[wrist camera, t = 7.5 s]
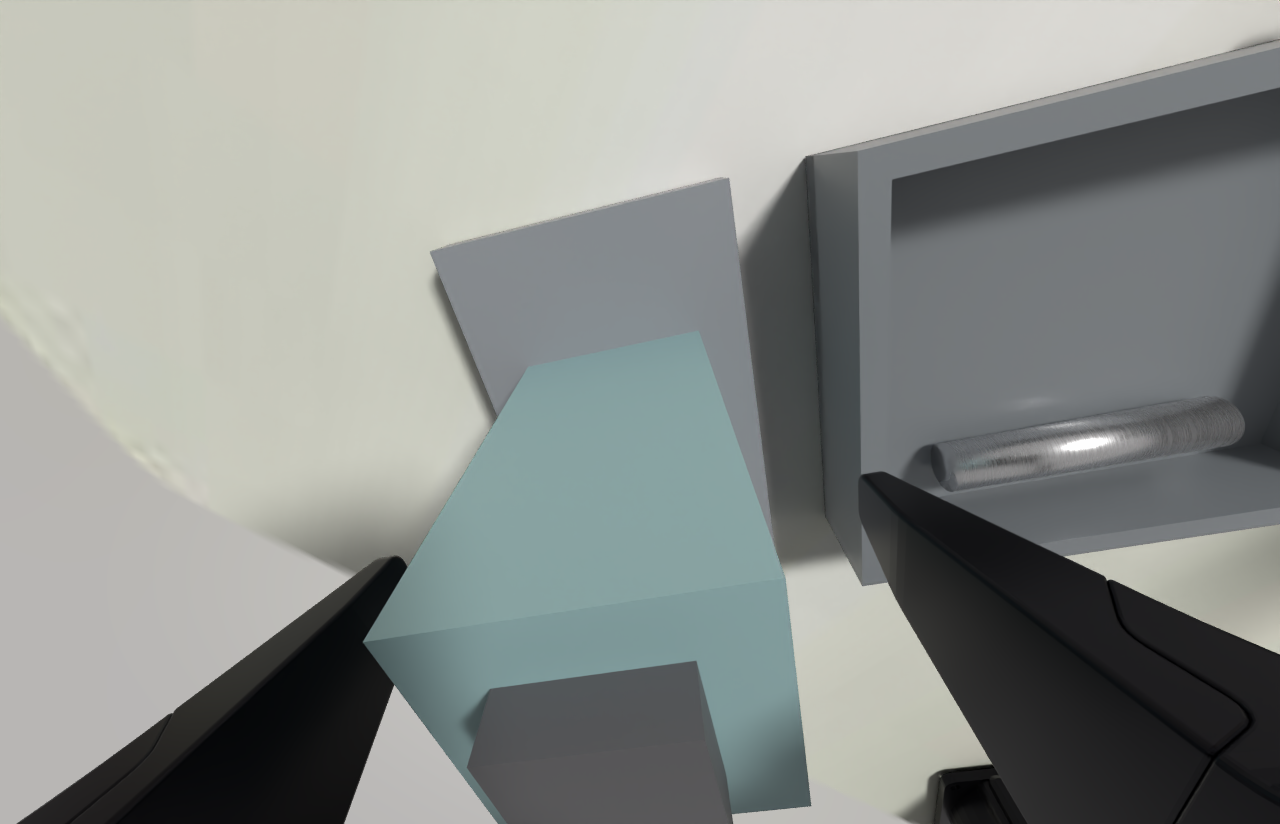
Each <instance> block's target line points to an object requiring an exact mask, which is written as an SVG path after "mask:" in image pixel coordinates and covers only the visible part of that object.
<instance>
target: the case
mask: <svg viewBox="0 0 1280 824" xmlns="http://www.w3.org/2000/svg"><path fill="white" fill-rule="evenodd" d="M806 175H807V193H808V211H809V229H810V247H811V265H812V283H813V301H814V319H815V337H816V355H817V373H818V392H819V410H820V428H821V446H822V464H823V482H824V500H825V517H826V518H827V520H828V522H829V524H830V526H831V528H832V530H833V532H834V534H835V535H836V537H837V539H838V541H839V543H840V545H841V547H842V549H843V551H844V552H845V554H846V556H847V558H848V560H849V562H850V564H851V566H852V568H853V569H854V571H855V573H856V575H857V577H858V579H859V581H860V583H861V585H862V586H867V585H873V584H880V583H887V582H888V581H887V579H886V577H885V575H884V572H883V570H882V568H881V566H880V563H879V561H878V559H877V557H876V554H875V552H874V550H873V548H872V546H871V543H870V541H869V539H868V537H867V534H866V532H865V530H864V528H863V525H862V523H861V520H860V517H859V511H858V479H859V477H860V476H861V475H862V474H867V473H872V472H878V471H884V472H887V473H889V474H891V475H893V476H895V477H897V478H899V479H901V480H904V481H906V482H908V483H910V484H912V485H914V486H916V487H918V488H920V489H922V490H925V491H927V492H929V493H931V494H933V495H935V496H937V497H939V498H941V499H943V500H946V501H948V502H950V503H952V504H954V505H956V506H958V507H960V508H962V509H964V510H967V511H969V512H971V513H973V514H975V515H977V516H979V517H981V518H983V519H985V520H988V521H990V522H992V523H994V524H996V525H998V526H1000V527H1002V528H1004V529H1006V530H1009V531H1011V532H1013V533H1015V534H1017V535H1019V536H1021V537H1023V538H1025V539H1027V540H1030V541H1032V542H1034V543H1036V544H1038V545H1040V546H1042V547H1044V548H1046V549H1048V550H1051V551H1053V552H1055V553H1057V554H1059V555H1061V556H1069V555H1076V554H1082V553H1089V552H1096V551H1103V550H1109V549H1116V548H1123V547H1129V546H1136V545H1143V544H1150V543H1156V542H1163V541H1170V540H1177V539H1183V538H1190V537H1197V536H1204V535H1210V534H1217V533H1224V532H1231V531H1237V530H1244V529H1251V528H1258V527H1264V526H1271V525H1278V524H1280V39H1279V40H1275V41H1271V42H1267V43H1263V44H1259V45H1255V46H1251V47H1247V48H1242V49H1238V50H1234V51H1230V52H1226V53H1222V54H1218V55H1214V56H1210V57H1206V58H1202V59H1198V60H1194V61H1190V62H1186V63H1182V64H1178V65H1174V66H1170V67H1166V68H1162V69H1158V70H1154V71H1149V72H1145V73H1141V74H1137V75H1133V76H1129V77H1125V78H1121V79H1117V80H1113V81H1109V82H1105V83H1101V84H1097V85H1093V86H1089V87H1085V88H1081V89H1077V90H1073V91H1069V92H1065V93H1061V94H1057V95H1052V96H1048V97H1044V98H1040V99H1036V100H1032V101H1028V102H1024V103H1020V104H1016V105H1012V106H1008V107H1004V108H1000V109H996V110H992V111H988V112H984V113H980V114H976V115H972V116H968V117H964V118H959V119H955V120H951V121H947V122H943V123H939V124H935V125H931V126H927V127H923V128H919V129H915V130H911V131H907V132H903V133H899V134H895V135H891V136H887V137H883V138H879V139H875V140H871V141H866V142H862V143H858V144H854V145H850V146H846V147H842V148H838V149H834V150H830V151H826V152H822V153H818V154H814V155H810V156H806ZM1202 396H1216V397H1220V398H1223V399H1225V400H1227V401H1229V402H1230V403H1232V404H1233V405H1234V406H1235V407H1236V408H1237V409H1238V410H1239V411H1240V413H1241V414H1242V416H1243V419H1244V422H1245V431H1244V434H1243V436H1242V437H1241V439H1240V440H1239V441H1238V442H1236V443H1235V444H1232V445H1229V446H1224V447H1218V448H1212V449H1206V450H1200V451H1194V452H1188V453H1182V454H1176V455H1170V456H1164V457H1158V458H1152V459H1146V460H1140V461H1134V462H1128V463H1122V464H1116V465H1110V466H1104V467H1098V468H1092V469H1086V470H1080V471H1074V472H1068V473H1062V474H1056V475H1050V476H1044V477H1038V478H1032V479H1026V480H1020V481H1014V482H1008V483H1002V484H996V485H990V486H984V487H978V488H972V489H966V490H960V491H954V492H949V491H947V490H945V489H944V488H943V487H942V486H941V485H940V483H939V482H938V480H937V479H936V477H935V474H934V472H933V469H932V465H931V450H932V447H933V446H934V445H935V444H938V443H943V442H949V441H955V440H960V439H966V438H971V437H977V436H983V435H988V434H994V433H1000V432H1005V431H1011V430H1016V429H1022V428H1028V427H1033V426H1039V425H1045V424H1050V423H1056V422H1062V421H1067V420H1073V419H1078V418H1084V417H1090V416H1095V415H1101V414H1107V413H1112V412H1118V411H1123V410H1129V409H1135V408H1140V407H1146V406H1152V405H1157V404H1163V403H1168V402H1174V401H1180V400H1185V399H1191V398H1197V397H1202Z"/></svg>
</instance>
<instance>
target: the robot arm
mask: <svg viewBox="0 0 1280 824" xmlns="http://www.w3.org/2000/svg"><path fill="white" fill-rule="evenodd" d="M858 511H859V517H860V520H861V523H862V525H863V528H864V530H865V532H866V534H867V537H868V539H869V541H870V543H871V546H872V548H873V550H874V552H875V554H876V557H877V559H878V561H879V563H880V566H881V568H882V570H883V572H884V575H885V577H886V579H887V581H888V584H889V586H890V588H891V590H892V592H893V594H894V596H895V599H896V600H897V602H898V604H899V606H900V608H901V609H902V611H903V613H904V615H905V616H906V618H907V620H908V621H909V623H910V625H911V627H912V628H913V630H914V632H915V633H916V635H917V637H918V638H919V640H920V642H921V644H922V645H923V647H924V649H925V650H926V652H927V654H928V655H929V657H930V659H931V660H932V662H933V664H934V666H935V667H936V669H937V671H938V672H939V674H940V676H941V677H942V679H943V681H944V683H945V684H946V686H947V688H948V689H949V691H950V693H951V694H952V696H953V698H954V700H955V701H956V703H957V705H958V706H959V708H960V710H961V711H962V713H963V715H964V717H965V718H966V720H967V722H968V723H969V725H970V727H971V728H972V730H973V732H974V734H975V735H976V737H977V739H978V740H979V742H980V744H981V745H982V747H983V749H984V750H985V752H986V754H987V756H988V757H989V759H990V761H991V762H992V764H993V766H994V767H995V768H992V769H982V770H972V771H963V772H953V773H947V774H945V775H943V776H942V777H941V778H940V783H939V790H938V798H937V806H936V814H935V822H934V824H1280V654H1277V653H1275V652H1272V651H1270V650H1268V649H1265V648H1263V647H1261V646H1258V645H1256V644H1254V643H1251V642H1249V641H1247V640H1244V639H1242V638H1240V637H1237V636H1235V635H1233V634H1230V633H1228V632H1226V631H1223V630H1221V629H1219V628H1216V627H1214V626H1212V625H1209V624H1207V623H1205V622H1202V621H1200V620H1198V619H1196V618H1193V617H1191V616H1189V615H1187V614H1185V613H1183V612H1180V611H1178V610H1176V609H1174V608H1172V607H1169V606H1167V605H1165V604H1163V603H1161V602H1159V601H1156V600H1154V599H1152V598H1150V597H1148V596H1145V595H1143V594H1141V593H1139V592H1137V591H1135V590H1133V589H1131V588H1129V587H1127V586H1124V585H1122V584H1120V583H1118V582H1116V581H1114V580H1108V581H1107V580H1106V578H1105V577H1104V576H1103V575H1101V574H1099V573H1097V572H1095V571H1093V570H1090V569H1088V568H1086V567H1084V566H1082V565H1080V564H1078V563H1076V562H1074V561H1072V560H1069V559H1067V558H1065V557H1063V556H1061V555H1059V554H1057V553H1055V552H1053V551H1051V550H1048V549H1046V548H1044V547H1042V546H1040V545H1038V544H1036V543H1034V542H1032V541H1030V540H1027V539H1025V538H1023V537H1021V536H1019V535H1017V534H1015V533H1013V532H1011V531H1009V530H1006V529H1004V528H1002V527H1000V526H998V525H996V524H994V523H992V522H990V521H988V520H985V519H983V518H981V517H979V516H977V515H975V514H973V513H971V512H969V511H967V510H964V509H962V508H960V507H958V506H956V505H954V504H952V503H950V502H948V501H946V500H943V499H941V498H939V497H937V496H935V495H933V494H931V493H929V492H927V491H925V490H922V489H920V488H918V487H916V486H914V485H912V484H910V483H908V482H906V481H904V480H901V479H899V478H897V477H895V476H893V475H891V474H889V473H887V472H884V471H878V472H872V473H867V474H862V475H861V476H860V477H859V479H858ZM407 568H408V567H407V565H406V563H405V562H404V560H403V559H402V558H401V557H399V556H389V557H384V558H379V559H377V560H375V561H373V562H372V563H371V564H369V565H368V566H367V567H365V568H364V569H363V570H361V571H360V572H359V573H357V574H356V575H355V576H353V577H352V578H351V579H349V580H348V581H347V582H345V583H344V584H343V585H341V586H340V587H339V588H337V589H336V590H335V591H333V592H332V593H331V594H329V595H328V596H327V597H325V598H324V599H323V600H321V601H320V602H319V603H318V604H316V605H315V606H313V607H312V608H311V609H309V610H308V611H307V612H305V613H304V614H303V615H301V616H300V617H299V618H297V619H296V620H294V621H293V622H292V623H290V624H289V625H288V626H286V627H285V628H284V629H282V630H281V631H280V632H278V633H277V634H276V635H274V636H273V637H272V638H270V639H269V640H268V641H266V642H265V643H264V644H262V645H261V646H260V647H258V648H257V649H256V650H254V651H253V652H252V653H250V654H249V655H248V656H246V657H245V658H244V659H243V660H241V661H240V662H238V663H237V664H236V665H234V666H233V667H231V669H229V670H228V671H226V672H225V673H224V674H222V675H221V676H219V677H218V678H217V679H215V680H214V681H213V682H211V683H210V684H209V685H208V686H206V687H205V688H203V689H202V690H201V691H199V692H198V693H197V694H195V695H194V696H193V697H191V698H190V699H189V700H187V701H186V702H185V703H183V704H182V705H181V706H179V707H178V708H177V709H176V710H175V711H174V713H171V714H168V715H167V716H166V717H164V718H163V719H162V720H160V721H159V722H158V723H156V724H155V725H154V726H152V727H151V728H150V729H148V730H147V731H146V732H145V733H143V734H142V735H140V736H139V737H137V738H136V739H135V740H133V741H132V742H131V743H129V744H128V745H127V746H125V747H124V748H122V749H121V750H120V751H118V752H117V753H116V754H114V755H113V756H112V757H110V758H109V759H108V760H106V761H105V762H104V763H102V764H101V765H99V766H98V767H96V768H95V769H94V770H92V771H91V772H89V773H88V774H87V775H85V776H84V777H82V778H81V779H79V780H78V781H77V782H76V783H74V784H72V785H71V786H70V787H68V788H67V789H65V790H64V791H63V792H61V793H60V794H58V795H57V796H55V797H54V798H53V799H51V800H50V801H48V802H47V803H45V804H44V805H43V806H41V807H40V808H38V809H37V810H35V811H34V812H33V813H31V814H30V815H28V816H27V817H25V818H24V819H22V820H21V821H20V822H18V823H17V824H344V822H345V820H346V817H347V814H348V811H349V809H350V806H351V803H352V800H353V797H354V795H355V792H356V789H357V786H358V784H359V781H360V778H361V775H362V773H363V770H364V767H365V764H366V761H367V758H368V756H369V753H370V750H371V747H372V745H373V742H374V739H375V736H376V734H377V731H378V728H379V725H380V723H381V720H382V717H383V714H384V712H385V709H386V706H387V703H388V700H389V698H390V695H391V692H392V689H393V687H394V683H393V682H392V681H391V679H390V678H389V677H388V675H387V674H386V673H385V671H384V670H383V669H382V667H381V666H380V665H379V663H378V662H377V661H376V659H375V658H374V657H373V655H372V654H371V652H370V651H369V650H368V648H367V647H366V646H365V644H364V643H363V641H364V639H365V638H366V636H367V634H368V633H369V631H370V629H371V628H372V626H373V624H374V623H375V621H376V619H377V618H378V616H379V614H380V613H381V611H382V609H383V608H384V606H385V604H386V603H387V601H388V599H389V598H390V596H391V594H392V593H393V591H394V589H395V588H396V586H397V584H398V583H399V581H400V579H401V578H402V576H403V574H404V573H405V571H406V569H407Z"/></svg>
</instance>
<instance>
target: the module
mask: <svg viewBox="0 0 1280 824" xmlns="http://www.w3.org/2000/svg"><path fill="white" fill-rule="evenodd" d="M363 643H364V644H365V646H366V647H367V648H368V650H369V651H370V652H371V654H372V655H373V657H374V658H375V659H376V661H377V662H378V663H379V665H380V666H381V667H382V669H383V670H384V671H385V673H386V674H387V675H388V677H389V678H390V679H391V681H392V682H393V683H394V685H395V686H396V687H397V689H398V690H399V691H400V693H401V694H402V695H403V697H404V698H405V699H406V701H407V702H408V703H409V705H410V706H411V708H412V709H413V710H414V712H415V713H416V714H417V716H418V717H419V718H420V719H421V721H422V722H423V724H424V725H425V726H426V728H427V729H428V730H429V732H430V733H431V734H432V736H433V737H434V738H435V740H436V741H437V742H438V744H439V745H440V746H441V748H442V749H443V750H444V752H445V753H446V755H447V756H448V757H449V759H450V760H451V761H452V763H453V764H454V765H455V767H456V768H457V769H458V770H459V772H460V773H461V775H462V776H463V777H464V779H465V780H466V781H467V783H468V784H469V785H470V787H471V788H472V789H473V791H474V792H475V793H476V795H477V796H478V797H479V799H480V800H481V802H482V803H483V804H484V806H485V807H486V808H487V810H488V811H489V812H490V814H491V815H492V816H493V818H494V819H495V820H496V822H497V823H498V824H733V820H732V814H737V813H747V812H758V811H768V810H777V809H787V808H797V807H806V806H807V807H808V806H811V800H810V791H809V782H808V773H807V764H806V755H805V747H804V738H803V729H802V720H801V711H800V703H799V694H798V685H797V676H796V667H795V659H794V650H793V641H792V632H791V623H790V615H789V606H788V597H787V588H786V579H785V575H784V572H783V570H782V567H781V564H780V561H779V558H778V555H777V553H776V550H775V547H774V544H773V541H772V538H771V535H770V533H769V530H768V527H767V524H766V521H765V518H764V515H763V513H762V510H761V507H760V504H759V501H758V498H757V495H756V493H755V490H754V487H753V484H752V481H751V478H750V475H749V473H748V470H747V467H746V464H745V461H744V458H743V455H742V453H741V450H740V447H739V444H738V441H737V438H736V435H735V433H734V430H733V427H732V424H731V421H730V418H729V416H728V413H727V410H726V407H725V404H724V401H723V398H722V396H721V393H720V390H719V387H718V384H717V381H716V378H715V376H714V373H713V370H712V367H711V364H710V361H709V358H708V356H707V353H706V350H705V347H704V344H703V341H702V338H701V336H700V333H699V331H695V332H690V333H685V334H681V335H676V336H671V337H666V338H662V339H657V340H652V341H648V342H643V343H638V344H634V345H629V346H624V347H619V348H615V349H610V350H605V351H601V352H596V353H591V354H587V355H582V356H577V357H572V358H568V359H563V360H558V361H554V362H549V363H544V364H540V365H535V366H530V367H528V368H527V369H526V371H525V373H524V374H523V376H522V378H521V379H520V381H519V383H518V384H517V386H516V388H515V389H514V391H513V393H512V394H511V396H510V398H509V399H508V401H507V403H506V404H505V406H504V408H503V409H502V411H501V413H500V414H499V416H498V418H497V419H496V421H495V423H494V424H493V426H492V428H491V429H490V431H489V433H488V434H487V436H486V438H485V439H484V441H483V443H482V444H481V446H480V448H479V449H478V451H477V453H476V454H475V456H474V458H473V459H472V461H471V463H470V464H469V466H468V468H467V469H466V471H465V473H464V474H463V476H462V478H461V479H460V481H459V483H458V484H457V486H456V488H455V489H454V491H453V493H452V494H451V496H450V498H449V499H448V501H447V503H446V504H445V506H444V508H443V509H442V511H441V513H440V514H439V516H438V518H437V519H436V521H435V523H434V524H433V526H432V528H431V529H430V531H429V533H428V534H427V536H426V538H425V539H424V541H423V543H422V544H421V546H420V548H419V549H418V551H417V553H416V554H415V556H414V558H413V559H412V561H411V563H410V564H409V566H408V568H407V569H406V571H405V573H404V574H403V576H402V578H401V579H400V581H399V583H398V584H397V586H396V588H395V589H394V591H393V593H392V594H391V596H390V598H389V599H388V601H387V603H386V604H385V606H384V608H383V609H382V611H381V613H380V614H379V616H378V618H377V619H376V621H375V623H374V624H373V626H372V628H371V629H370V631H369V633H368V634H367V636H366V638H365V639H364V641H363Z"/></svg>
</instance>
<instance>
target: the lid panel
mask: <svg viewBox="0 0 1280 824" xmlns="http://www.w3.org/2000/svg"><path fill="white" fill-rule="evenodd" d="M430 254H431V256H432V259H433V261H434V264H435V266H436V269H437V271H438V273H439V276H440V278H441V281H442V283H443V286H444V288H445V290H446V293H447V295H448V298H449V300H450V303H451V305H452V307H453V310H454V312H455V315H456V317H457V320H458V322H459V325H460V327H461V329H462V332H463V334H464V337H465V339H466V342H467V344H468V346H469V349H470V351H471V354H472V356H473V359H474V361H475V363H476V366H477V368H478V371H479V373H480V376H481V378H482V380H483V383H484V385H485V388H486V390H487V393H488V395H489V397H490V400H491V402H492V405H493V407H494V410H495V412H496V414H497V417H498V416H499V414H500V413H501V411H502V409H503V408H504V406H505V404H506V403H507V401H508V399H509V398H510V396H511V394H512V393H513V391H514V389H515V388H516V386H517V384H518V383H519V381H520V379H521V378H522V376H523V374H524V373H525V371H526V369H527V368H528V367H530V366H535V365H540V364H544V363H549V362H554V361H558V360H563V359H568V358H572V357H577V356H582V355H587V354H591V353H596V352H601V351H605V350H610V349H615V348H619V347H624V346H629V345H634V344H638V343H643V342H648V341H652V340H657V339H662V338H666V337H671V336H676V335H681V334H685V333H690V332H695V331H699V333H700V336H701V338H702V341H703V344H704V347H705V350H706V353H707V356H708V358H709V361H710V364H711V367H712V370H713V373H714V376H715V378H716V381H717V384H718V387H719V390H720V393H721V396H722V398H723V401H724V404H725V407H726V410H727V413H728V416H729V418H730V421H731V424H732V427H733V430H734V433H735V435H736V438H737V441H738V444H739V447H740V450H741V453H742V455H743V458H744V461H745V464H746V467H747V470H748V473H749V475H750V478H751V481H752V484H753V487H754V490H755V493H756V495H757V498H758V501H759V504H760V507H761V510H762V513H763V515H764V518H765V521H766V524H767V527H768V530H769V533H770V535H771V538H772V541H773V544H774V538H773V530H772V522H771V514H770V506H769V498H768V490H767V482H766V473H765V465H764V457H763V449H762V441H761V433H760V425H759V417H758V409H757V400H756V392H755V384H754V376H753V368H752V360H751V352H750V344H749V336H748V327H747V319H746V311H745V303H744V295H743V287H742V279H741V271H740V262H739V254H738V246H737V238H736V230H735V222H734V214H733V206H732V198H731V189H730V181H729V178H717V179H713V180H709V181H705V182H701V183H697V184H693V185H689V186H685V187H680V188H676V189H672V190H668V191H664V192H660V193H656V194H652V195H648V196H644V197H640V198H636V199H632V200H628V201H624V202H620V203H616V204H612V205H608V206H604V207H600V208H596V209H592V210H587V211H583V212H579V213H575V214H571V215H567V216H563V217H559V218H555V219H551V220H547V221H543V222H539V223H535V224H531V225H527V226H523V227H519V228H515V229H511V230H507V231H503V232H499V233H494V234H490V235H486V236H482V237H478V238H474V239H470V240H466V241H462V242H458V243H454V244H450V245H447V246H444V247H441V248H439V249H436V250H433V251H430ZM774 547H775V546H774Z"/></svg>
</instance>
